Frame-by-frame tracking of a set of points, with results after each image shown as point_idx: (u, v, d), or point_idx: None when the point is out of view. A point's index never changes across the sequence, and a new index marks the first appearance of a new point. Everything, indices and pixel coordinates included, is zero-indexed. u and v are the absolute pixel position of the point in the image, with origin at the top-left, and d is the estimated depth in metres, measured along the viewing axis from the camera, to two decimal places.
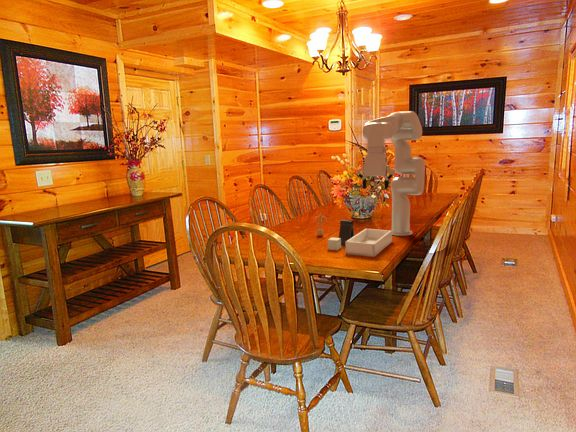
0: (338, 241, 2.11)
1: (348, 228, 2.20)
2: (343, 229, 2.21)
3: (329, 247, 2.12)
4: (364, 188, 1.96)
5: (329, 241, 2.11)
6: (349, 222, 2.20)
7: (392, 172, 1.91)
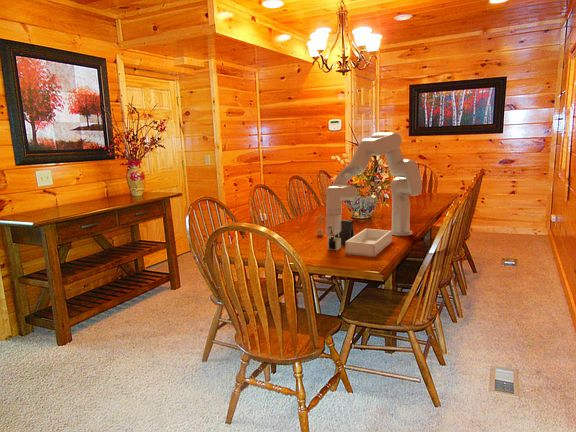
0: (338, 241, 2.11)
1: (348, 228, 2.20)
2: (343, 229, 2.21)
3: None
4: None
5: None
6: (349, 222, 2.20)
7: None
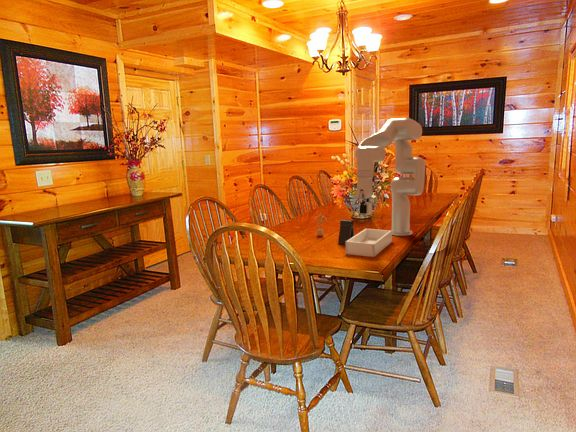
0: (369, 205, 2.01)
1: (348, 228, 2.20)
2: (343, 229, 2.21)
3: None
4: None
5: None
6: (349, 222, 2.20)
7: None
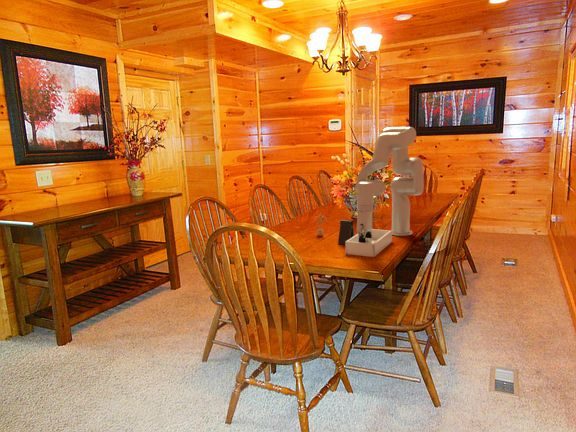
0: (369, 241, 2.04)
1: (348, 228, 2.20)
2: (343, 229, 2.21)
3: None
4: None
5: None
6: (349, 222, 2.20)
7: None
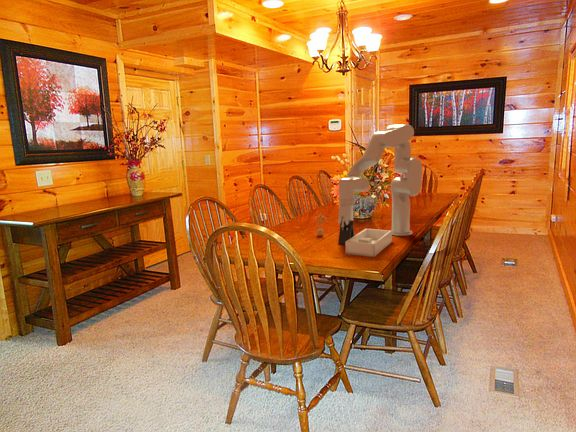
0: (369, 241, 2.04)
1: (348, 228, 2.20)
2: None
3: None
4: None
5: (360, 241, 2.04)
6: None
7: None
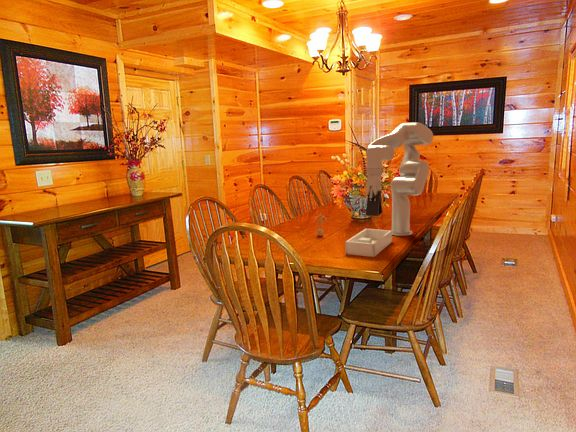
0: (369, 241, 2.04)
1: (376, 198, 2.12)
2: None
3: None
4: None
5: (360, 241, 2.04)
6: None
7: None
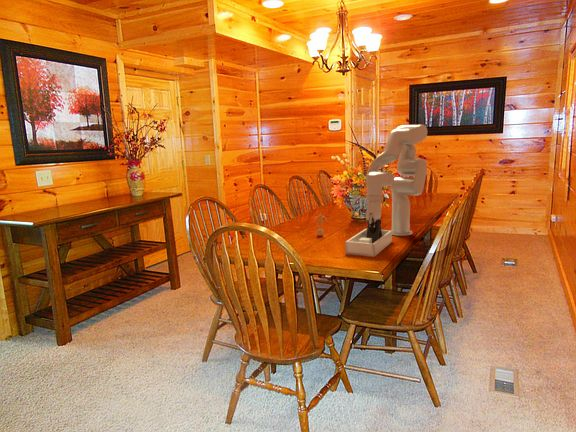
0: (369, 241, 2.04)
1: (376, 227, 2.15)
2: None
3: None
4: None
5: (360, 241, 2.04)
6: (377, 221, 2.15)
7: None
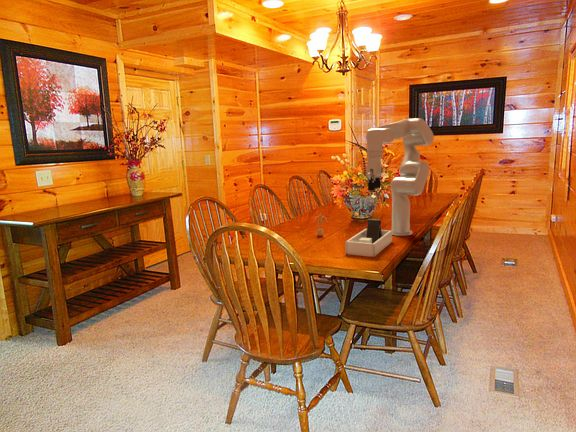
0: (369, 241, 2.04)
1: (376, 227, 2.15)
2: (371, 229, 2.16)
3: None
4: None
5: (360, 241, 2.04)
6: (377, 221, 2.15)
7: None
